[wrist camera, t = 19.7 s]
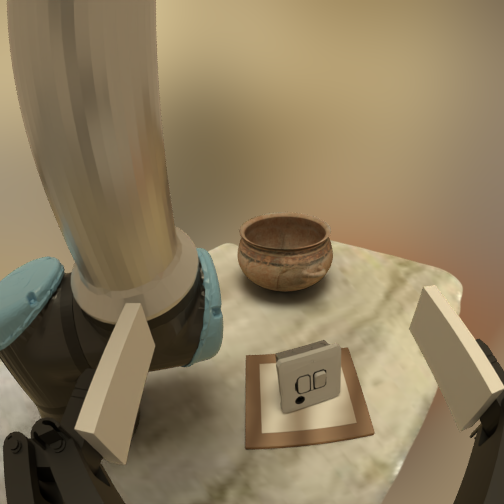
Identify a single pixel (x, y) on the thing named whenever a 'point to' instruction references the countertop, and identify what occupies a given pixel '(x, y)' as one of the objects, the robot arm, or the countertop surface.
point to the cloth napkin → (306, 419)
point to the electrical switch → (308, 375)
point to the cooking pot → (285, 250)
